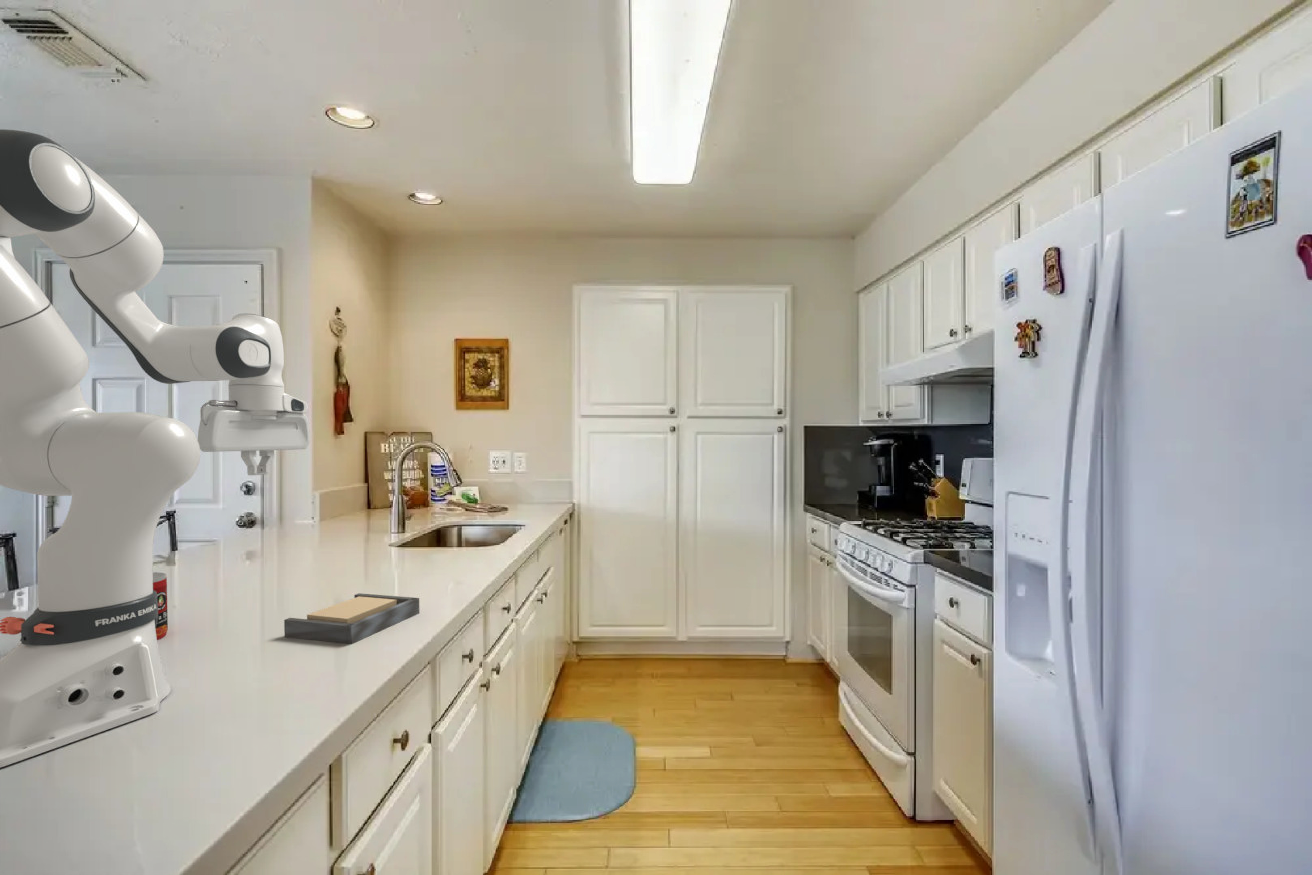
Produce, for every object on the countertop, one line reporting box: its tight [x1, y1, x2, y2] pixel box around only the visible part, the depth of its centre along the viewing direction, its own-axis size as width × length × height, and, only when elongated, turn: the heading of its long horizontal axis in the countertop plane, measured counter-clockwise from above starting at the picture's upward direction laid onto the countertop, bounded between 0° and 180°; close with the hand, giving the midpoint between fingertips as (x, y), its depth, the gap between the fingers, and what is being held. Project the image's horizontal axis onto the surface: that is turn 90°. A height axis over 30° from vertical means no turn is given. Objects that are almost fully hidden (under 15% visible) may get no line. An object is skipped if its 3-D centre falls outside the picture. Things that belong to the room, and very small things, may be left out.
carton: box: [306, 596, 397, 623], centre depth 110 cm, size 12×9×4 cm
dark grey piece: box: [283, 593, 420, 645], centre depth 111 cm, size 17×15×3 cm
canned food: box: [153, 571, 169, 641], centre depth 104 cm, size 8×8×11 cm
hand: (258, 474), depth 112 cm, fingers closed
